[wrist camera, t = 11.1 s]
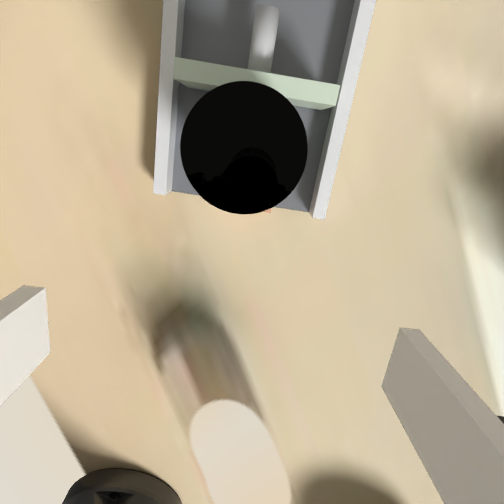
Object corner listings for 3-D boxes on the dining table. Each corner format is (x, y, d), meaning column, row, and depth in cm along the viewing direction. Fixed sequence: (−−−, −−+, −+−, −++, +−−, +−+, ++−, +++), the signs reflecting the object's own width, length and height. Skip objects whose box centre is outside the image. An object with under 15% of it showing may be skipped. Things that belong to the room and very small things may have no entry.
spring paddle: (321, 110, 26) (335, 105, 21) (188, 87, 26) (173, 78, 21) (337, 33, 24) (356, 10, 20) (195, 8, 24) (180, -22, 19)
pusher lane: (319, 213, 30) (338, 238, 23) (161, 188, 29) (131, 206, 22) (392, -109, 22) (454, -218, 15) (181, -151, 22) (146, -284, 15)
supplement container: (256, 79, 26) (255, 48, 16) (306, 151, 28) (333, 164, 18) (189, 135, 27) (152, 139, 17) (241, 201, 29) (233, 238, 19)
